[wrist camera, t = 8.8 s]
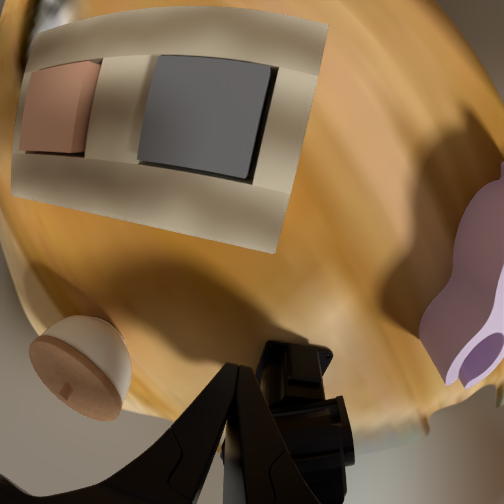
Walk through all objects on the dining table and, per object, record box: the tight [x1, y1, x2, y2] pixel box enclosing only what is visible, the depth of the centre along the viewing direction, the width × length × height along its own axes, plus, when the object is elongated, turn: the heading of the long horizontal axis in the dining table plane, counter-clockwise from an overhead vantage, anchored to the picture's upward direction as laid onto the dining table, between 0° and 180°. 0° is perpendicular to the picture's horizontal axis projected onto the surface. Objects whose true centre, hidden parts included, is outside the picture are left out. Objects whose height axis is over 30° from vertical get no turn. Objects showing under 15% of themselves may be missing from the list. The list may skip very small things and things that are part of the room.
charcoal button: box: [137, 56, 271, 179], centre depth 14 cm, size 6×6×4 cm
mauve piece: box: [418, 161, 504, 389], centre depth 17 cm, size 20×12×7 cm, turn 157°
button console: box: [11, 6, 329, 254], centre depth 15 cm, size 14×22×4 cm, turn 78°
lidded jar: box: [29, 315, 132, 421], centre depth 22 cm, size 11×11×9 cm
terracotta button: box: [19, 61, 101, 153], centre depth 14 cm, size 6×6×4 cm
